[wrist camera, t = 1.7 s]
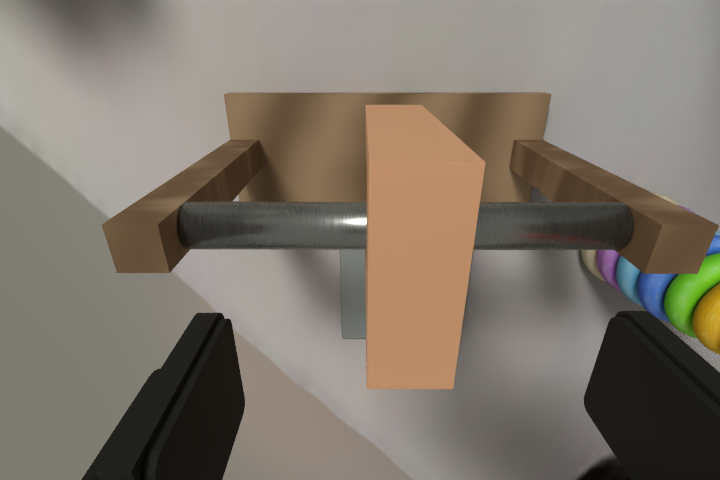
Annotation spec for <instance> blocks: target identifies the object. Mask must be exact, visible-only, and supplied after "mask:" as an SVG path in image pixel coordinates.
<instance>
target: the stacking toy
mask: <svg viewBox="0 0 720 480" xmlns="http://www.w3.org/2000/svg"><path fill="white" fill-rule="evenodd" d="M653 194H655V195H657V196H659V197H661V198H663V199H666V200H668V201H670V202H672V203H674V204H676V205H678V206H680V207H682V208H684V209H686V210H688V211H690V212H692V211H691V210H689V209H687V208H685V207H683V206H681V205H680V204H678V203H677V202H676V201H675V200H673V199H672V198H670V197H667V196H665V195H662V194H658V193H653ZM692 213H694V212H692ZM694 214H695V213H694ZM581 255H582V259H583V261H584V264H585V266H586V267H587V269H588V270H589V271H590V272H591V273H592V274H593V275H594V276H595V277H597V278H598V279H600V280H602V281H605V282H607V283H608V284H609V285H610V286H612V287H613V288H615V289H617V290H618V291H621V292H623V294H624V295H625V296H626V297H627V298H628V299H630V300H631V301H632V302H634V303H636V304H638V305H640V306H642V307H644V308H645V309H646V310H647V311H648V312H649V313H651V314H652V315H653V316H655V317H656V318H658V319H661V320H663V321H666V322H671V323H672V325H673V326H674V327H675V328H677V329H678V330H679V331H681V332H682V333H684V334H686V335H688V336H691V337H694V338H698V340H699V341H700V342H701V343H702V344H703V345H704V346H705V347H707V348H708V349H710V350H711V351H713V352H715V353H717V354H720V233H719V232H718V231H716V234H715V236H714V238H713V240H712V243H711V245H710V247H709V249H708V252H707V254H706V256H705V258H704V261H703V263H702V265H701V267H700V270H699V272H698V274H644V273H643V272H641V271H640V270H639V269H638V268H636V267H635V266H634V265H633V264H631V263H630V262H629V261H627V260H626V259H625V258H624V257H622V256H621V255H620V254H619V253H617V252H616V251H615V250H581Z"/></svg>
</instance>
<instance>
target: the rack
mask: <svg viewBox="0 0 720 480" xmlns="http://www.w3.org/2000/svg"><path fill="white" fill-rule="evenodd" d="M224 98H225V105H226V112H227V119H228V126H229V133H230V140H229V141H228V142H226V143H225V144H223V145H222V146H220V147H219V148H217V149H216V150H214V151H213V152H211V153H210V154H208V155H206V156H205V157H203V158H202V159H200V160H199V161H197V162H196V163H194V164H193V165H191V166H190V167H188V168H187V169H185V170H184V171H182V172H181V173H179V174H178V175H176V176H175V177H173V178H172V179H170V180H169V181H167V182H166V183H164V184H163V185H161V186H160V187H158V188H156V189H155V190H153V191H152V192H150V193H149V194H147V195H146V196H144V197H143V198H141V199H140V200H138V201H137V202H135V203H134V204H132V205H131V206H129V207H128V208H126V209H125V210H123V211H122V212H120V213H119V214H117V215H116V216H114V217H113V218H111V219H109V220H108V221H107V222H105V223H104V224H102V226H103V230H104V233H105V236H106V239H107V242H108V246H109V249H110V252H111V255H112V258H113V261H114V264H115V267H116V270H117V273H170V272H171V271H172V269H173V268H174V267H175V266H176V265H177V264H178V263H179V261H180V260H181V259H182V258H183V257H184V256H185V255H186V253H187V252H188V251H189V250H190V249H325V250H366V236H367V163H366V136H365V116H366V105H422V106H423V107H425V108H426V109H427V110H428V111H429V112H430V113H431V114H432V115H433V116H435V117H436V118H437V119H438V120H439V121H440V122H441V123H442V124H443V125H445V126H446V127H447V128H448V129H449V130H450V131H451V132H452V133H454V134H455V135H456V136H457V137H458V138H459V139H460V140H461V141H462V142H464V143H465V144H466V145H467V146H468V147H469V148H470V149H471V150H473V151H474V152H475V153H476V154H477V155H478V156H479V157H480V158H481V159H483V160H484V161H485V162H486V163H485V170H484V177H483V184H482V191H481V198H480V205H479V212H478V219H477V226H476V233H475V240H474V247H473V250H615V251H616V252H617V253H619V254H620V255H621V256H622V257H624V258H625V259H626V260H627V261H629V262H630V263H631V264H633V265H634V266H635V267H636V268H638V269H639V270H640V271H641V272H643V273H644V274H698V272H699V270H700V267H701V265H702V263H703V261H704V258H705V256H706V254H707V252H708V249H709V247H710V245H711V243H712V240H713V238H714V236H715V234H716V231H717V229H718V227H719V225H717V224H715V223H713V222H711V221H709V220H707V219H705V218H703V217H701V216H699V215H696V214H694V213H692V212H690V211H688V210H686V209H684V208H682V207H680V206H678V205H676V204H674V203H672V202H670V201H668V200H666V199H663V198H661V197H659V196H657V195H655V194H653V193H651V192H649V191H647V190H645V189H643V188H641V187H639V186H637V185H635V184H633V183H630V182H628V181H626V180H624V179H622V178H620V177H618V176H616V175H614V174H612V173H610V172H608V171H606V170H604V169H602V168H600V167H597V166H595V165H593V164H591V163H589V162H587V161H585V160H583V159H581V158H579V157H577V156H575V155H573V154H571V153H569V152H567V151H564V150H562V149H560V148H558V147H556V146H554V145H552V144H550V143H548V142H546V141H544V140H542V138H543V133H544V128H545V123H546V118H547V114H548V109H549V104H550V99H551V94H547V93H227V94H224ZM533 187H534V188H536V189H537V190H538V191H539V192H541V193H542V194H543V195H545V196H546V197H547V198H548V199H550V200H551V201H552V202H530V198H531V193H532V188H533ZM237 195H239V201H240V202H232V201H233V200H234V199H235V198H236V196H237Z"/></svg>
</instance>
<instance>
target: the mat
mask: <svg viewBox="0 0 720 480" xmlns="http://www.w3.org/2000/svg"><path fill="white" fill-rule="evenodd" d="M340 265H341V303H342V339H366V286H365V250H340ZM466 296H467V295H466ZM465 303H466V302H465ZM464 310H465V309H464ZM463 317H464V316H463ZM462 324H463V323H462ZM461 331H462V330H461ZM460 338H461V337H460Z"/></svg>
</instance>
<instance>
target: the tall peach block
mask: <svg viewBox="0 0 720 480" xmlns="http://www.w3.org/2000/svg"><path fill="white" fill-rule="evenodd" d="M365 136H366V163H367V236H366V250H365V286H366V362H367V389H453V386H454V379H455V372H456V365H457V358H458V351H459V344H460V337H461V330H462V323H463V316H464V309H465V302H466V295H467V289H468V282H469V275H470V268H471V261H472V254H473V247H474V240H475V233H476V226H477V219H478V212H479V205H480V198H481V191H482V184H483V177H484V170H485V163H486V162H485V161H484V160H483V159H481V158H480V157H479V156H478V155H477V154H476V153H475V152H474V151H473V150H471V149H470V148H469V147H468V146H467V145H466V144H465V143H464V142H462V141H461V140H460V139H459V138H458V137H457V136H456V135H455V134H454V133H452V132H451V131H450V130H449V129H448V128H447V127H446V126H445V125H443V124H442V123H441V122H440V121H439V120H438V119H437V118H436V117H435V116H433V115H432V114H431V113H430V112H429V111H428V110H427V109H426V108H425V107H423V106H422V105H366V116H365Z"/></svg>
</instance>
